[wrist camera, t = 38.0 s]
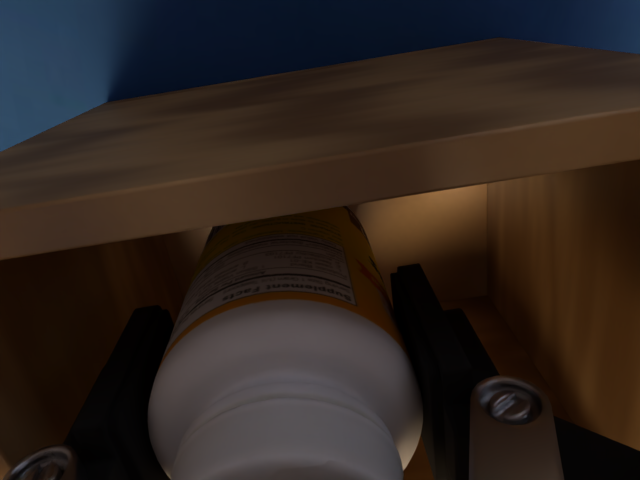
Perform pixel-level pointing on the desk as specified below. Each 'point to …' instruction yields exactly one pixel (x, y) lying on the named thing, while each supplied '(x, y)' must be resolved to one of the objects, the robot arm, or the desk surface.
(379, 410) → the supplement bottle
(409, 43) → the desk surface
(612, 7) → the desk surface
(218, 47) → the desk surface
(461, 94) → the chest
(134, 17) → the desk surface
